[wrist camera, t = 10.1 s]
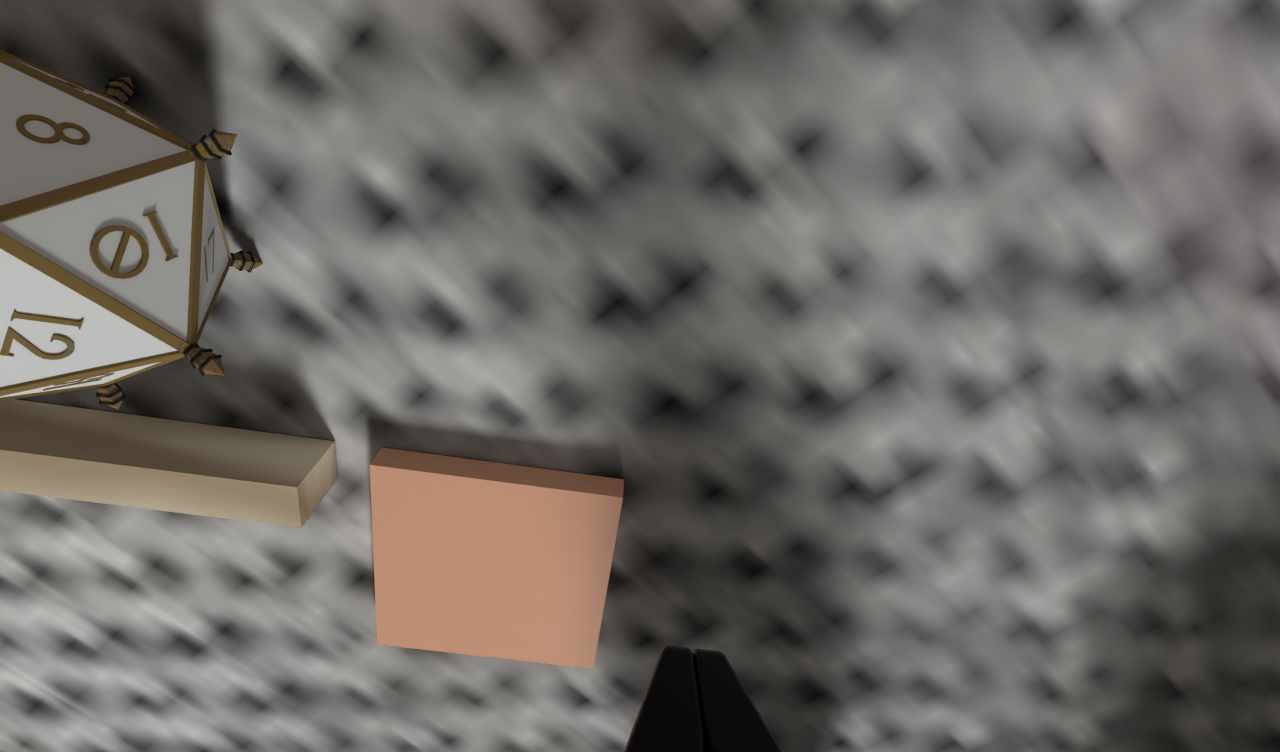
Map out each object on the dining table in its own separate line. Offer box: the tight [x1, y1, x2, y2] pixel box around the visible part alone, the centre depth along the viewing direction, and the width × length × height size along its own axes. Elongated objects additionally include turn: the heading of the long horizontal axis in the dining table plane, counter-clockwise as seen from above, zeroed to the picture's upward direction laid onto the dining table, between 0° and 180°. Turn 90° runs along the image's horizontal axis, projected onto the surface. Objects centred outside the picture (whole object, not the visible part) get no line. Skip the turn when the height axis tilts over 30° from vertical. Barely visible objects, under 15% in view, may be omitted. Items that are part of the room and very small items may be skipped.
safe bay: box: [0, 399, 337, 528], centre depth 16 cm, size 17×13×2 cm
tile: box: [370, 448, 624, 669], centre depth 22 cm, size 8×8×1 cm
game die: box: [0, 50, 263, 410], centre depth 14 cm, size 9×8×10 cm
